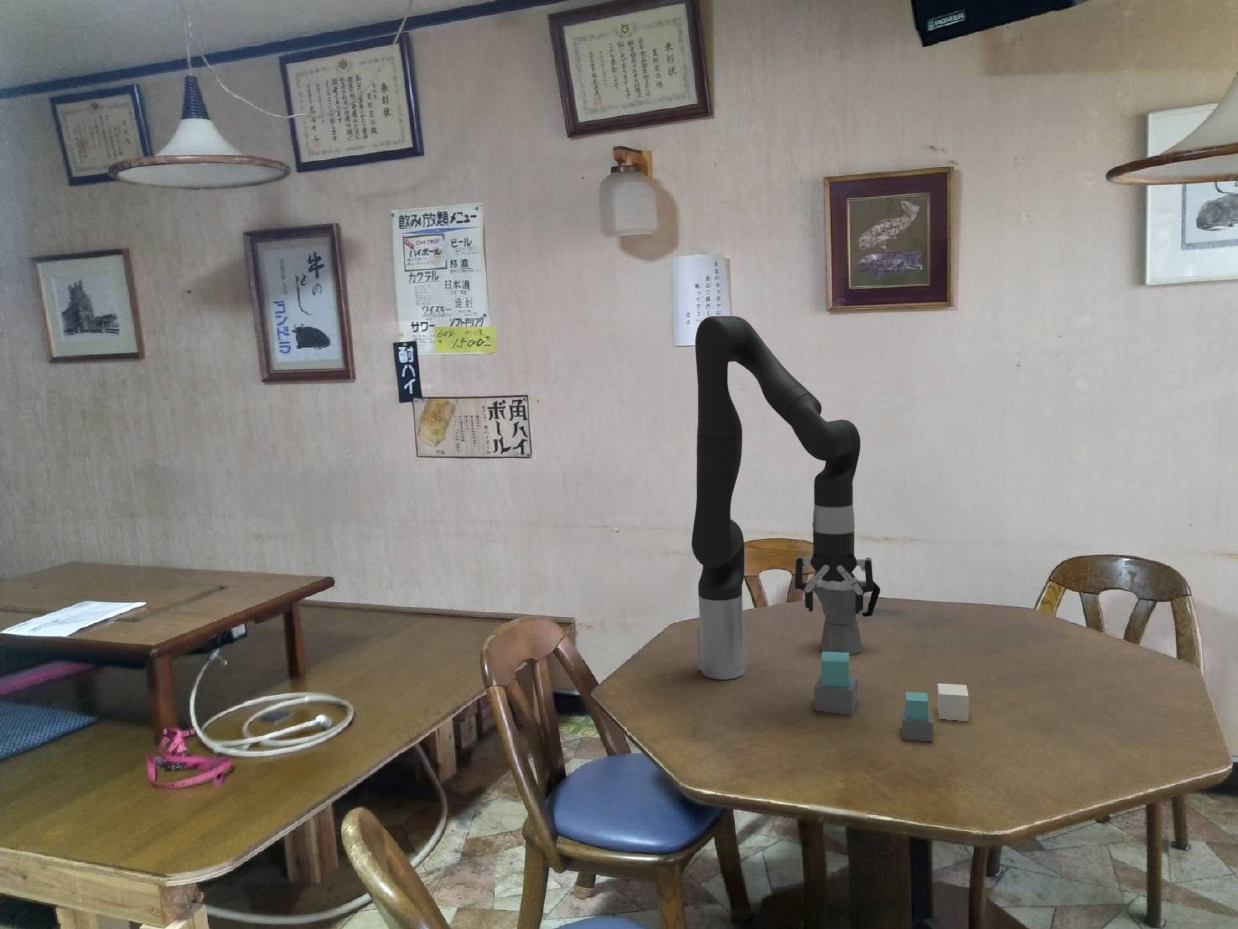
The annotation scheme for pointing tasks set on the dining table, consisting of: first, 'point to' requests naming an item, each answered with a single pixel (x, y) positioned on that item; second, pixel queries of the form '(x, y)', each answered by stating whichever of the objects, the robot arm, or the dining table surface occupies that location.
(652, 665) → the dining table surface
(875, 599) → the coffeepot
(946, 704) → the cream block
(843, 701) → the charcoal block
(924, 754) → the dining table surface
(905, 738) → the stack
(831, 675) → the teal block
